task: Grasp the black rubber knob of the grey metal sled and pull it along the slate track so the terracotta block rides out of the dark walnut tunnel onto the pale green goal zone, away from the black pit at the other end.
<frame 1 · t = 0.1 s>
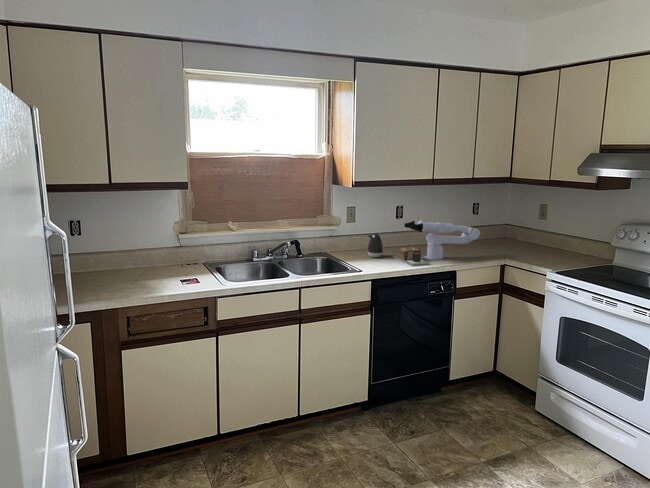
hand: (407, 226, 305), 22 cm above the worktop, tool horizontal, fingers open, 7 cm apart
tunnel: (408, 259, 310), resting on track
sled: (411, 255, 306), point 4 cm above the worktop, slide at 0.0 cm, touching block
track: (410, 260, 308), on the worktop
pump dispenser: (374, 257, 318), on the worktop
block: (409, 256, 310), point 2 cm above the worktop, touching sled
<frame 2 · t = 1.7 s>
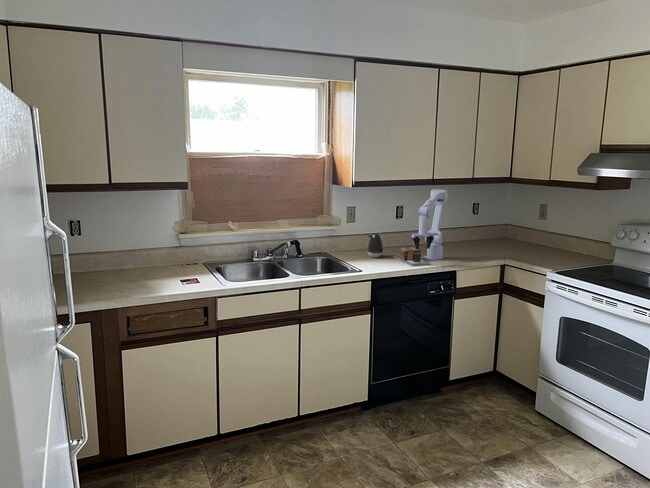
hand: (422, 248, 298), 9 cm above the worktop, tool pointing down, fingers open, 7 cm apart
nothing on the worktop moved.
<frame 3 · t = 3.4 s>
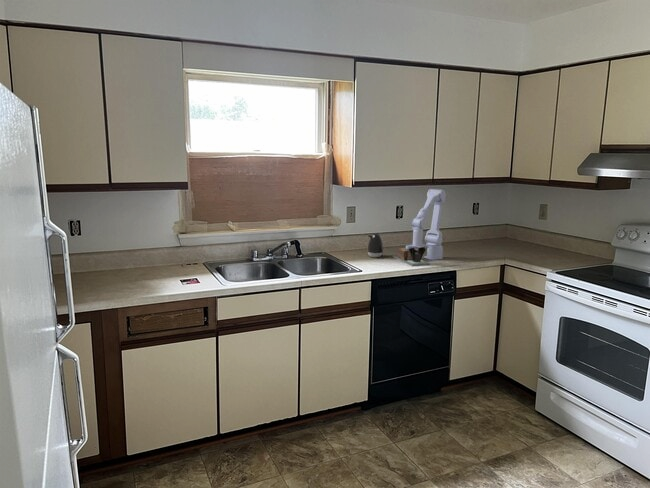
hand: (416, 259, 301), 2 cm above the worktop, tool pointing down, fingers closed on sled, 4 cm apart
sled: (411, 255, 306), point 4 cm above the worktop, slide at 0.0 cm, touching block, gripper
everything else where it was.
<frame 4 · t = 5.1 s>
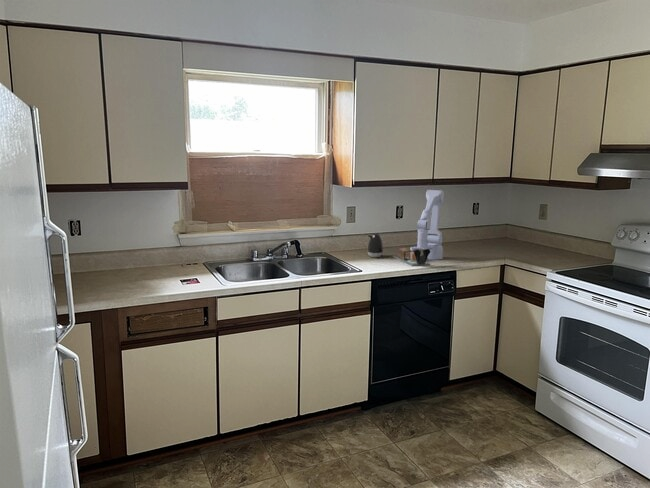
hand: (421, 261, 296), 2 cm above the worktop, tool pointing down, fingers closed on sled, 4 cm apart
sled: (416, 257, 301), point 4 cm above the worktop, slide at 5.4 cm, touching block, gripper
block: (413, 258, 305), point 2 cm above the worktop, touching sled
everything else where it was.
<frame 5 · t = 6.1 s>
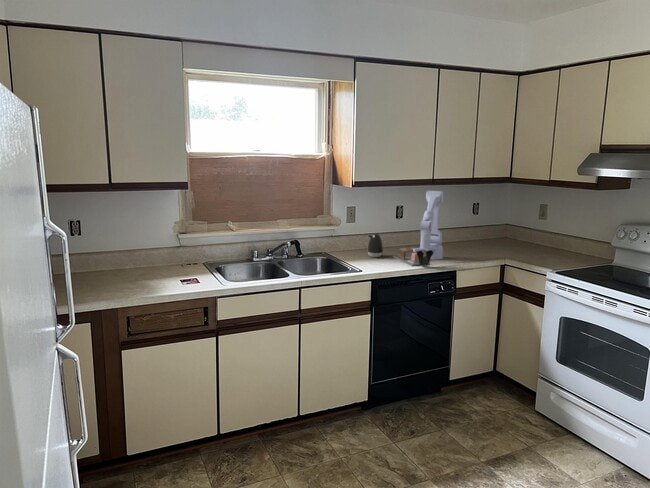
hand: (424, 263, 293), 2 cm above the worktop, tool pointing down, fingers closed on sled, 4 cm apart
sled: (418, 258, 298), point 4 cm above the worktop, slide at 8.7 cm, touching block, gripper
block: (415, 259, 302), point 2 cm above the worktop, touching sled
everything else where it was.
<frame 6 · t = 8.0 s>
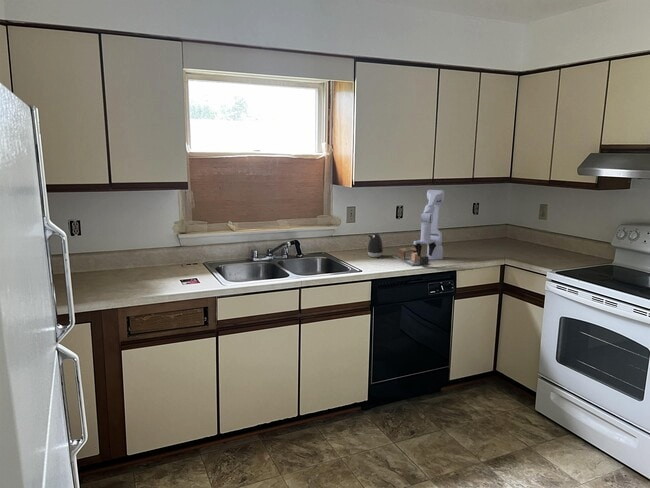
hand: (424, 255, 292), 7 cm above the worktop, tool pointing down, fingers open, 7 cm apart
sled: (418, 258, 298), point 4 cm above the worktop, slide at 8.7 cm, touching block
everything else where it was.
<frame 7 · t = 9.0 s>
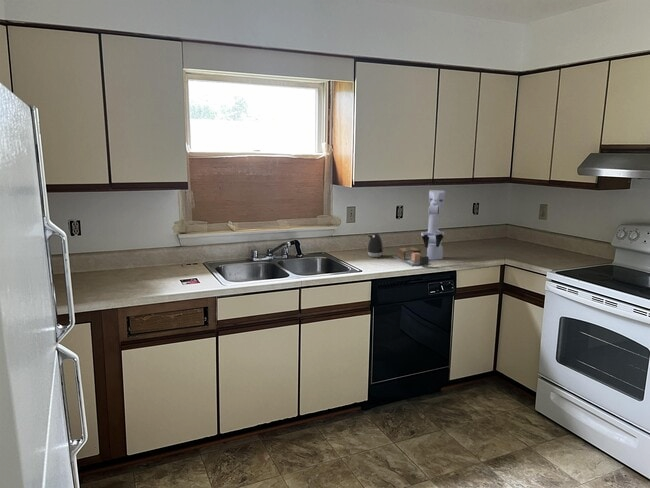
hand: (431, 247, 299), 10 cm above the worktop, tool pointing down, fingers open, 7 cm apart
nothing on the worktop moved.
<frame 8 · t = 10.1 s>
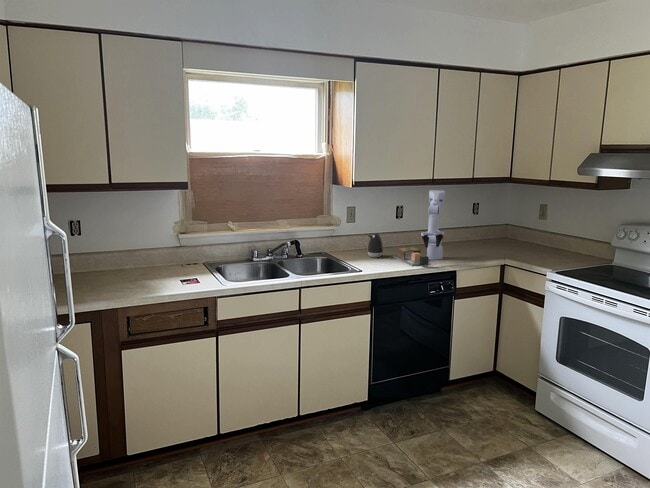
hand: (431, 247, 299), 10 cm above the worktop, tool pointing down, fingers open, 7 cm apart
nothing on the worktop moved.
at the end: block inside the target area (1.1 cm from its centre), point 2.1 cm above the worktop; sled slide at 8.7 cm; block tilted 0° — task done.
